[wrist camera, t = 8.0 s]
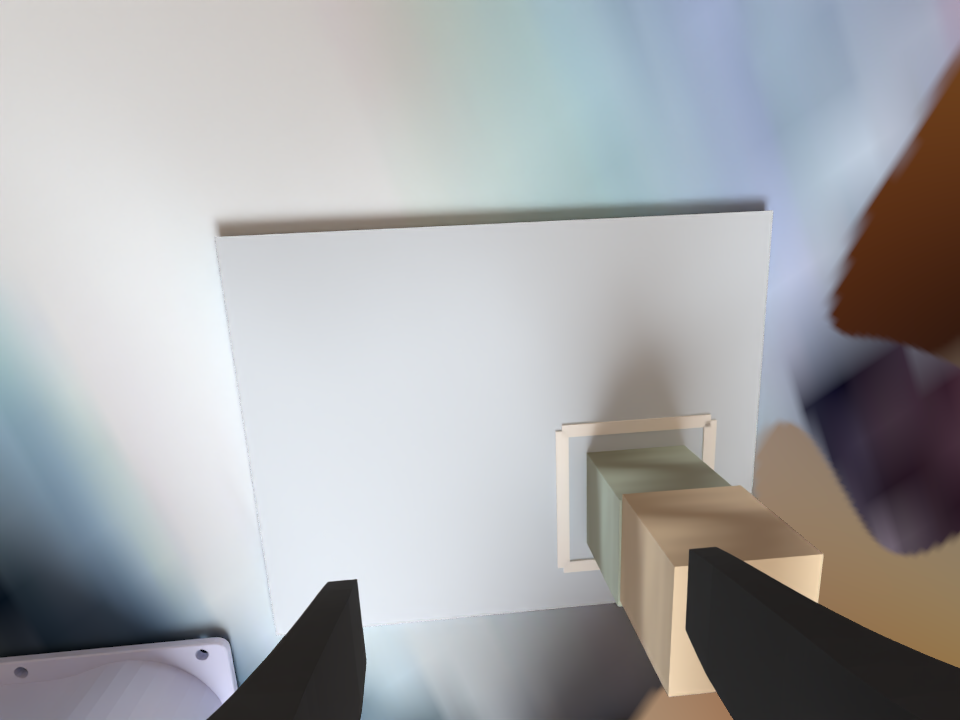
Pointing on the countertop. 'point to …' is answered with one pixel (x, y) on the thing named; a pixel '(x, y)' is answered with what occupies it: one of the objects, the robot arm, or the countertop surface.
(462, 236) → the white rectangular panel
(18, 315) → the countertop surface
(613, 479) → the sage base cube
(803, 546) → the maple cube
